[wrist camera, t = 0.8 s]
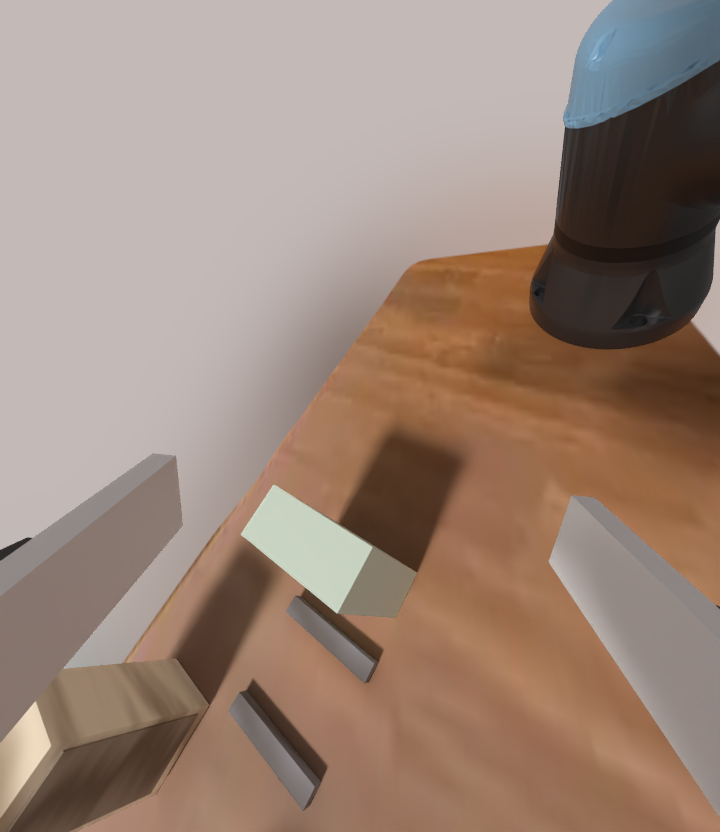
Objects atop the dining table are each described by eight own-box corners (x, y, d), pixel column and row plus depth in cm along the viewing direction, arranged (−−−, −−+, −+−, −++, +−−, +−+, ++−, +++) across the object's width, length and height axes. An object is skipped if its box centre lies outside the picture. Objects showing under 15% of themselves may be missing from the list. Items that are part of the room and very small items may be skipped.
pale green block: (339, 523, 34) (273, 484, 25) (417, 572, 29) (372, 546, 20) (318, 560, 33) (240, 534, 24) (395, 618, 28) (337, 613, 19)
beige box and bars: (246, 550, 36) (142, 519, 26) (378, 662, 27) (296, 684, 17) (126, 735, 31) (-64, 789, 21) (237, 955, 22) (-9, 1252, 11)
